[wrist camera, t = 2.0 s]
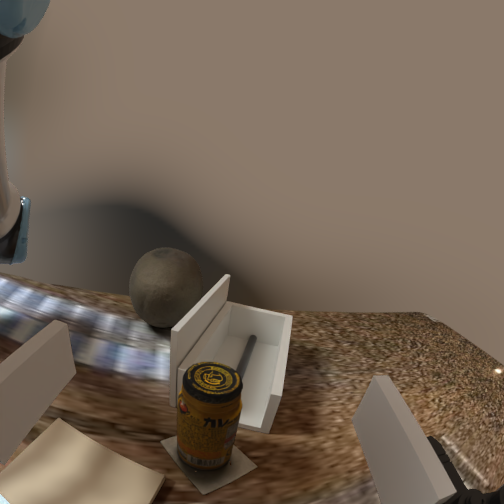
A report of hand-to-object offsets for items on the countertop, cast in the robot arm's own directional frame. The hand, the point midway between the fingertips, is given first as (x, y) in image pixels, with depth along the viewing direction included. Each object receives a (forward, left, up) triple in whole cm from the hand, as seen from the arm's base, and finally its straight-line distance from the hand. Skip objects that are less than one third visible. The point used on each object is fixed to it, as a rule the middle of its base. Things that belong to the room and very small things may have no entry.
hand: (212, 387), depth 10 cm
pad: (-12, -2, -20) cm, 23 cm away
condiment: (-2, +10, -20) cm, 22 cm away
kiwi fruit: (-19, +35, -20) cm, 44 cm away
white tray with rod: (-2, +27, -20) cm, 33 cm away
